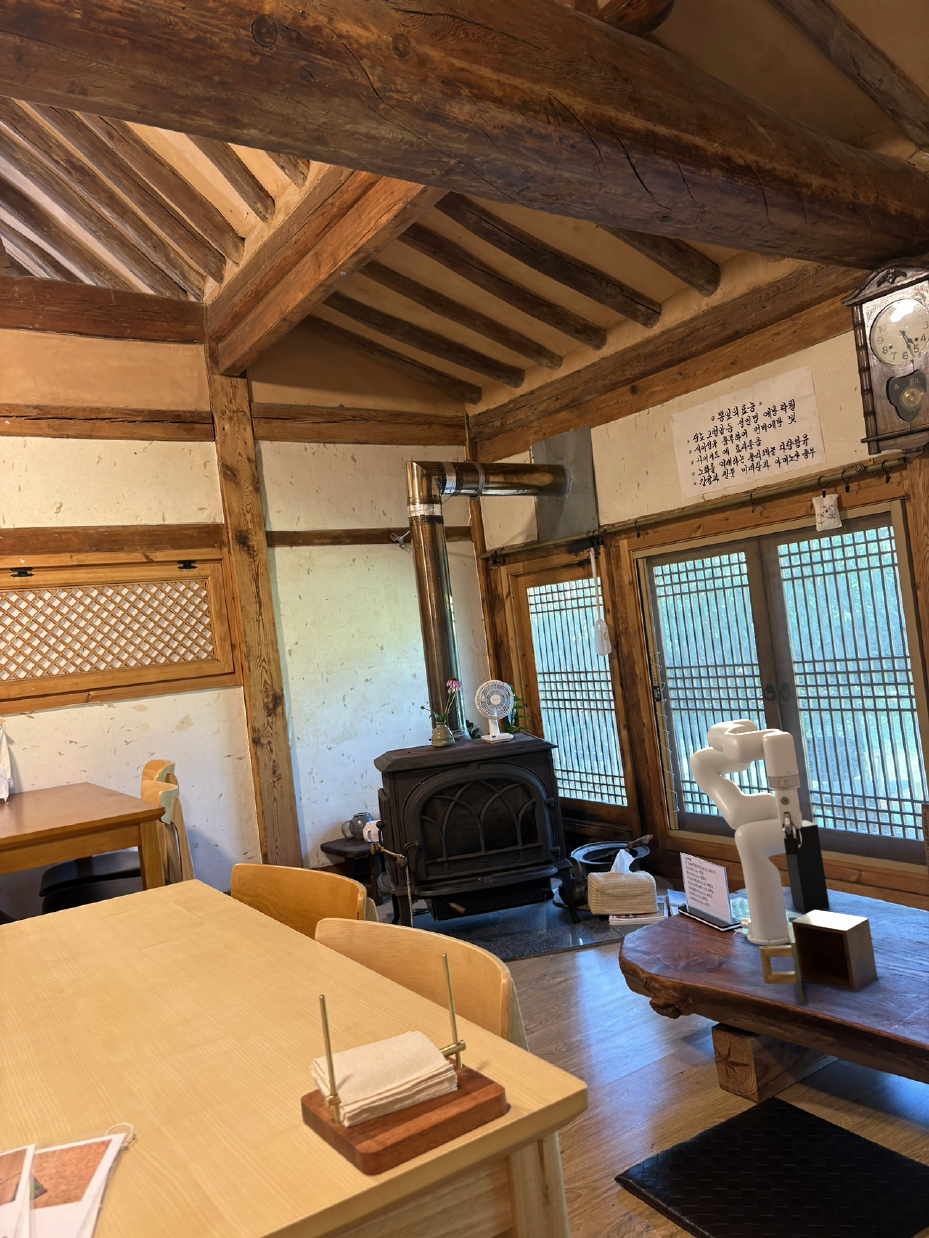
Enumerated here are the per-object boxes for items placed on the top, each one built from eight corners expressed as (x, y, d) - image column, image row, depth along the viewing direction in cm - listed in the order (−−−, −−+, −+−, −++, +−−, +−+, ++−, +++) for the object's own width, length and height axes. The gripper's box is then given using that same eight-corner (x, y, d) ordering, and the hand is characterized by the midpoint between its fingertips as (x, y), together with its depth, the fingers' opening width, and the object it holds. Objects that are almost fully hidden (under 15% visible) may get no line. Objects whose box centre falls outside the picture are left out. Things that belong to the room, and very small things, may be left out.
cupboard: (855, 992, 204) (846, 930, 205) (800, 979, 215) (791, 921, 216) (877, 978, 210) (868, 918, 211) (822, 966, 221) (814, 909, 222)
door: (767, 1004, 203) (758, 943, 204) (765, 980, 217) (757, 923, 217) (804, 1004, 201) (795, 942, 202) (800, 980, 214) (792, 922, 215)
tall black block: (792, 905, 270) (779, 813, 271) (817, 901, 271) (803, 809, 272) (804, 913, 262) (790, 817, 263) (830, 908, 263) (816, 813, 264)
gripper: (798, 787, 217) (808, 857, 217) (800, 774, 233) (810, 840, 233) (765, 789, 220) (776, 858, 220) (770, 776, 236) (780, 841, 236)
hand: (793, 849), depth 226 cm, fingers open, 9 cm apart
